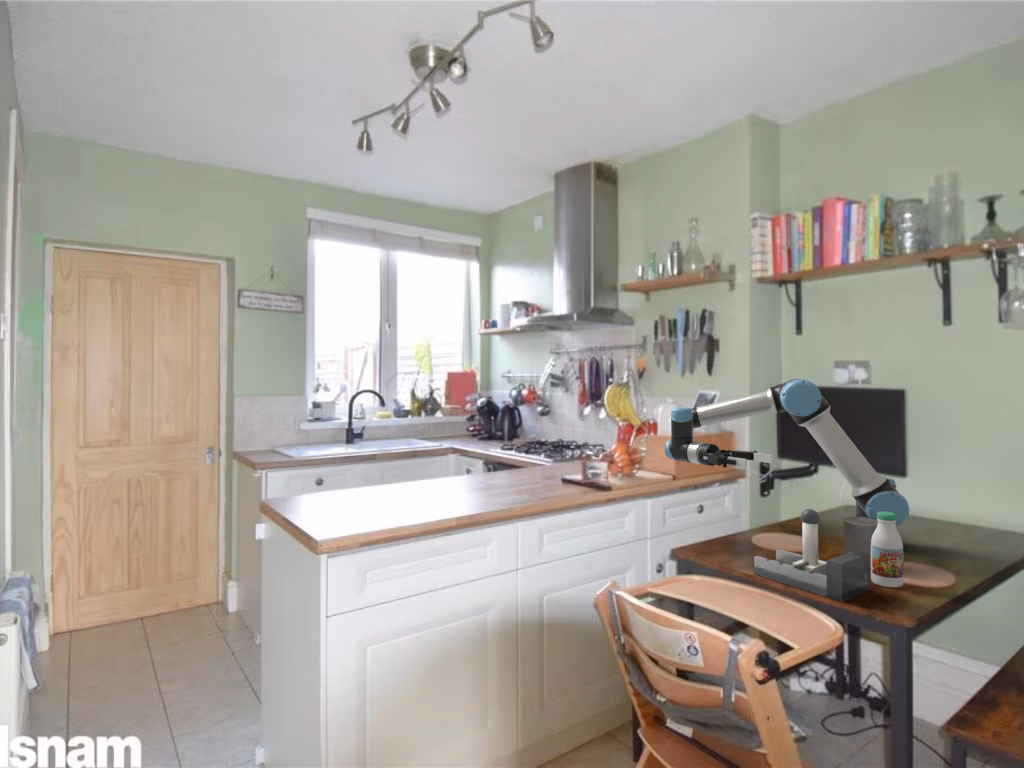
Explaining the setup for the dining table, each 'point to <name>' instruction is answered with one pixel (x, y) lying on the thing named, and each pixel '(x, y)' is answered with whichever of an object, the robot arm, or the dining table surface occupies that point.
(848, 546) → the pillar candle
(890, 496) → the robot arm
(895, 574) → the milk bottle
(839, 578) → the base
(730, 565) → the dining table surface
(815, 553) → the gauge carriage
